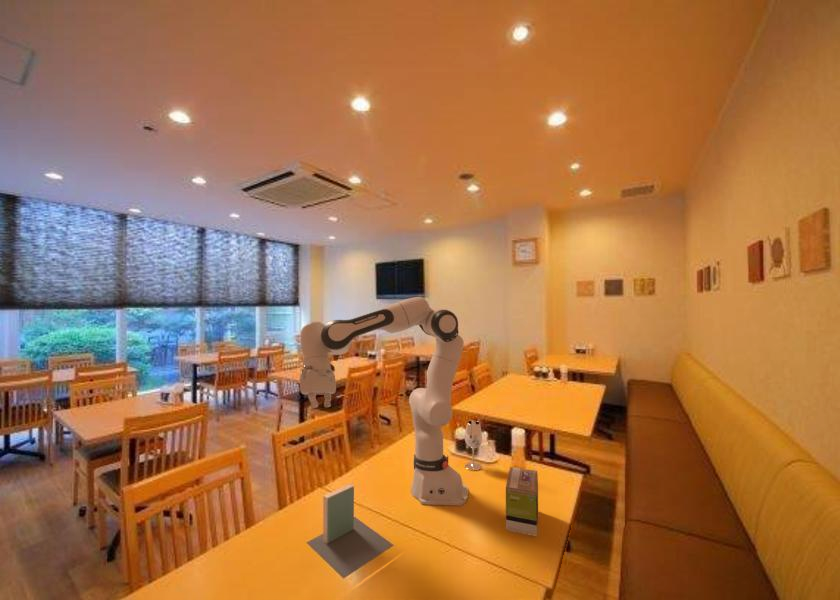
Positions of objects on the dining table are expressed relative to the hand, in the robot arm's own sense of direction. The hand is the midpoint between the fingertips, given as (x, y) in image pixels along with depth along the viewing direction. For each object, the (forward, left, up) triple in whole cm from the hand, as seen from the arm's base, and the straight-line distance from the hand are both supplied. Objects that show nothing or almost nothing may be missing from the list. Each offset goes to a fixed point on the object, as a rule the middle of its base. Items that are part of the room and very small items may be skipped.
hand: (321, 407), depth 121 cm
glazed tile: (-10, +6, -38) cm, 40 cm away
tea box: (-67, -17, -39) cm, 79 cm away
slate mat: (-15, +9, -38) cm, 42 cm away
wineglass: (-47, -52, -39) cm, 80 cm away
